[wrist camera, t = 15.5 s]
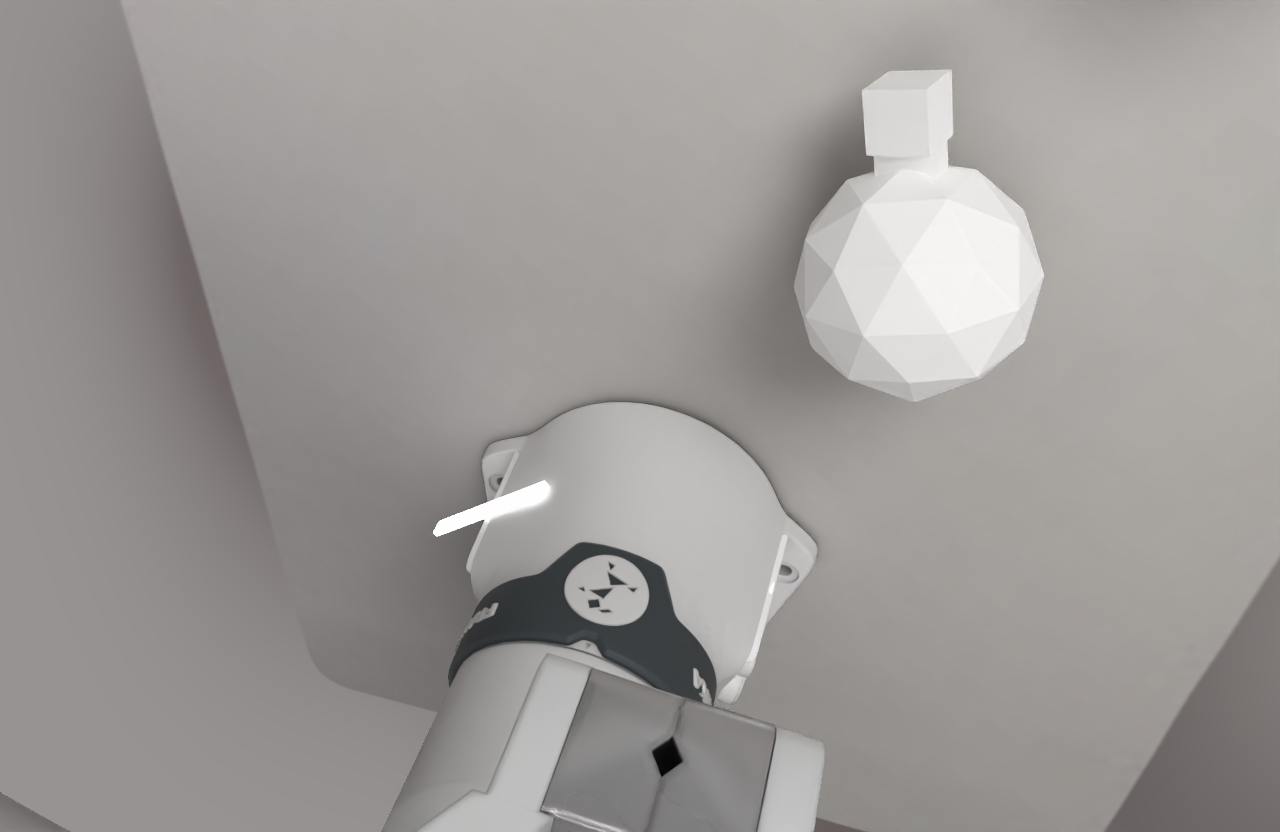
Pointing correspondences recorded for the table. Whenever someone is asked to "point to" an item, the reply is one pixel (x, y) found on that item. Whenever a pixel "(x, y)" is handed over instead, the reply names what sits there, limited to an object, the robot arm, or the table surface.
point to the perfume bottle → (916, 255)
